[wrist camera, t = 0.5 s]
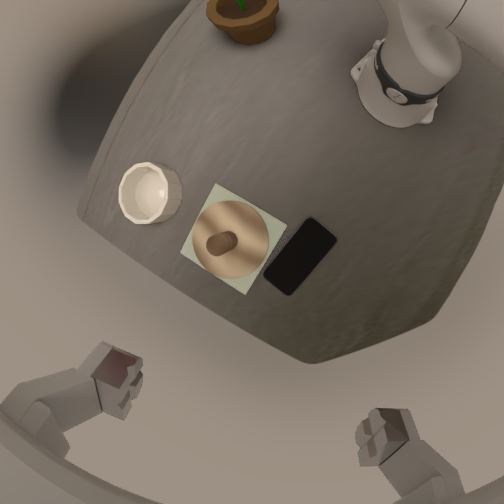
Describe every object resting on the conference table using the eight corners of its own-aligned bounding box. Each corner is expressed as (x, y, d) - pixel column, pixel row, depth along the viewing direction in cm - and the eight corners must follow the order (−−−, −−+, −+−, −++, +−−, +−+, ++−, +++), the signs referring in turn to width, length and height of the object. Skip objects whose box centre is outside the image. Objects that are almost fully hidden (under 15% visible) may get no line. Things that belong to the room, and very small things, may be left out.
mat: (216, 183, 53) (215, 183, 52) (287, 225, 51) (287, 225, 51) (181, 252, 57) (180, 252, 56) (245, 294, 55) (245, 294, 55)
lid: (216, 186, 52) (200, 183, 45) (283, 226, 51) (278, 230, 43) (183, 251, 56) (163, 259, 48) (244, 291, 55) (233, 305, 47)
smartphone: (260, 275, 54) (309, 213, 49) (261, 273, 55) (309, 213, 50) (289, 298, 53) (340, 239, 49) (289, 296, 54) (339, 238, 50)
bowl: (149, 157, 55) (133, 153, 49) (191, 180, 54) (178, 178, 48) (127, 205, 58) (111, 206, 52) (166, 231, 57) (151, 234, 51)
